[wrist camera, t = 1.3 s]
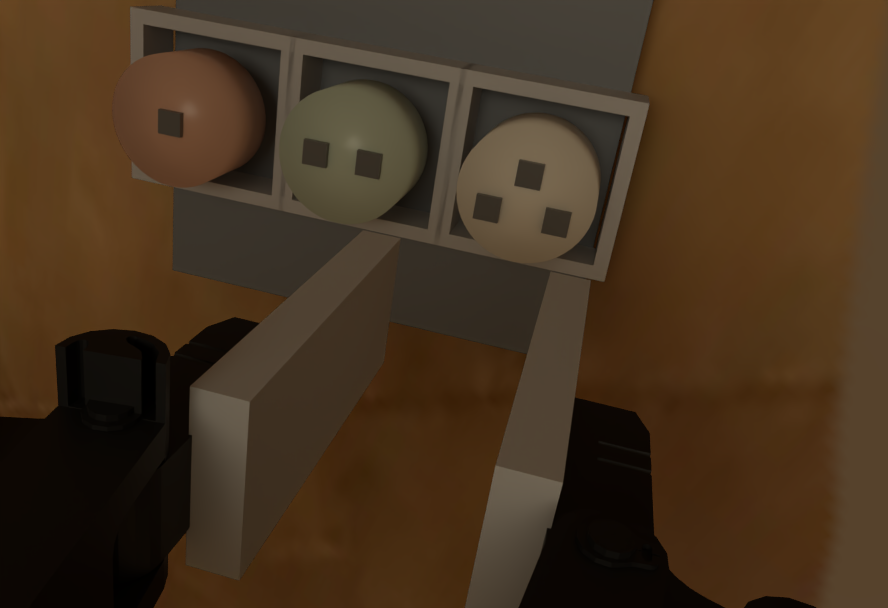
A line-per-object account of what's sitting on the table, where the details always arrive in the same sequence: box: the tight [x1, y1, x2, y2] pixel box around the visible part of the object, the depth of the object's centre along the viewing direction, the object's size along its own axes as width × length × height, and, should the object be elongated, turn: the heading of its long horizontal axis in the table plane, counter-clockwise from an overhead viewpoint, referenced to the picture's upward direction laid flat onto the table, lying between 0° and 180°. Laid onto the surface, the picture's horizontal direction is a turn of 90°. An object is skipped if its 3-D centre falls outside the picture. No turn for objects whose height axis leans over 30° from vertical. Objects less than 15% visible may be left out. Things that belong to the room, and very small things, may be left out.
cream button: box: [456, 113, 601, 263], centre depth 25 cm, size 4×4×3 cm
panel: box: [130, 0, 653, 354], centre depth 29 cm, size 18×15×4 cm
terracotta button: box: [112, 48, 266, 188], centre depth 27 cm, size 4×4×3 cm
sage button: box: [279, 79, 428, 224], centre depth 26 cm, size 4×4×3 cm
